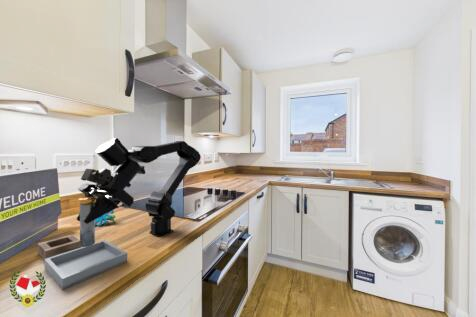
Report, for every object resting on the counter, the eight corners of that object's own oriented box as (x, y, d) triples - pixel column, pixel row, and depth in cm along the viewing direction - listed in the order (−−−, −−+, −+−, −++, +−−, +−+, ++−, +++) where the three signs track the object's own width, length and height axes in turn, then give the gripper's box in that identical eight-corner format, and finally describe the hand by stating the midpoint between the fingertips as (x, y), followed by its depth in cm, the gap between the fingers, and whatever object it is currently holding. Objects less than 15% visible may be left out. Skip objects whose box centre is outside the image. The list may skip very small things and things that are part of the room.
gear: (79, 223, 79) (95, 201, 86) (86, 229, 83) (101, 208, 90) (105, 227, 79) (119, 206, 85) (111, 233, 83) (124, 212, 90)
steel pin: (86, 240, 55) (86, 196, 54) (99, 241, 55) (99, 197, 54) (74, 247, 51) (74, 200, 51) (88, 247, 51) (88, 200, 50)
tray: (104, 247, 62) (104, 239, 62) (127, 261, 55) (127, 252, 55) (44, 268, 51) (44, 259, 51) (62, 290, 43) (62, 278, 43)
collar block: (71, 243, 65) (71, 234, 65) (80, 250, 61) (80, 240, 60) (37, 253, 58) (37, 243, 58) (45, 261, 54) (45, 251, 54)
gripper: (85, 157, 60) (36, 200, 50) (123, 159, 51) (73, 211, 42) (111, 179, 67) (73, 221, 58) (148, 184, 59) (111, 233, 49)
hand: (81, 221), depth 51 cm, fingers closed on steel pin, 3 cm apart
